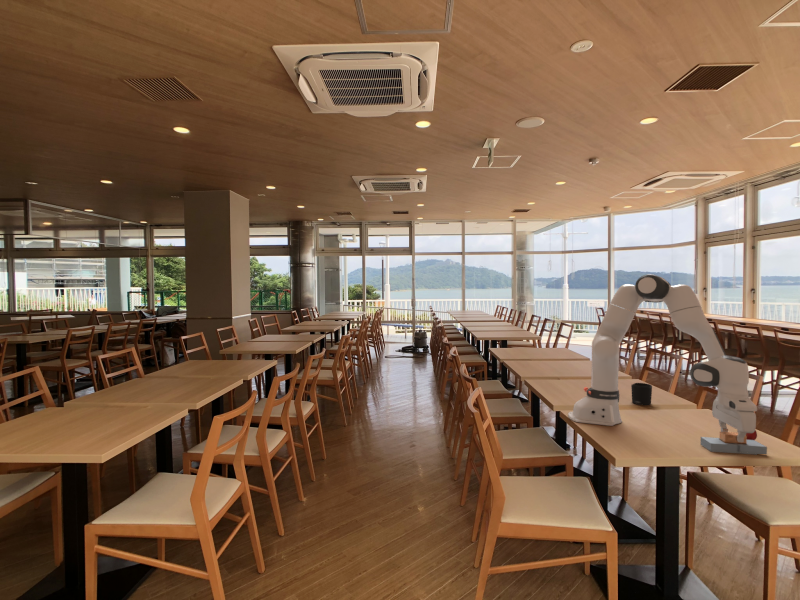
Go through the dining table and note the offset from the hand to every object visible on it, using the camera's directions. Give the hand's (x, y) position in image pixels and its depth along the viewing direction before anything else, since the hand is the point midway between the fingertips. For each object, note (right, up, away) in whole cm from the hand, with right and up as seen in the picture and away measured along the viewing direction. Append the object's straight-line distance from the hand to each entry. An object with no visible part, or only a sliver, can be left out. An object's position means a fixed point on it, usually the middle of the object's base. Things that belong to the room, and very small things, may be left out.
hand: (731, 437), depth 153 cm
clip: (0, -4, 0) cm, 4 cm away
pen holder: (+4, -4, +64) cm, 65 cm away
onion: (+12, -5, +7) cm, 15 cm away
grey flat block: (0, -5, 0) cm, 5 cm away
